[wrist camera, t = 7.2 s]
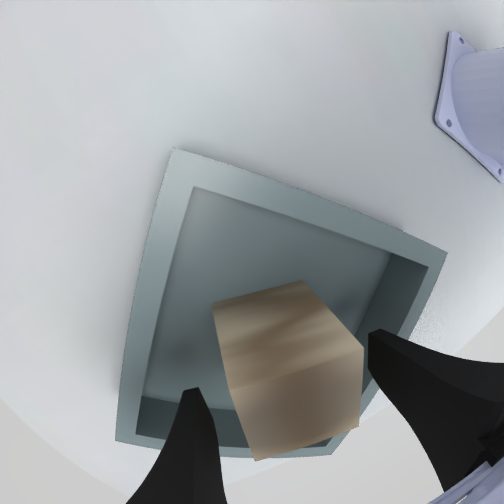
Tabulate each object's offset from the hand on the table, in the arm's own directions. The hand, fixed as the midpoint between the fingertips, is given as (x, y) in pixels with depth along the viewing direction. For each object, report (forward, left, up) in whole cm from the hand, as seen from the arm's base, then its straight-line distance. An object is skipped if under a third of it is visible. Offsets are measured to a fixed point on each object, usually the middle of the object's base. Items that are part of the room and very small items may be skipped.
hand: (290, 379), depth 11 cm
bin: (0, 0, -5) cm, 5 cm away
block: (0, 0, -4) cm, 4 cm away
